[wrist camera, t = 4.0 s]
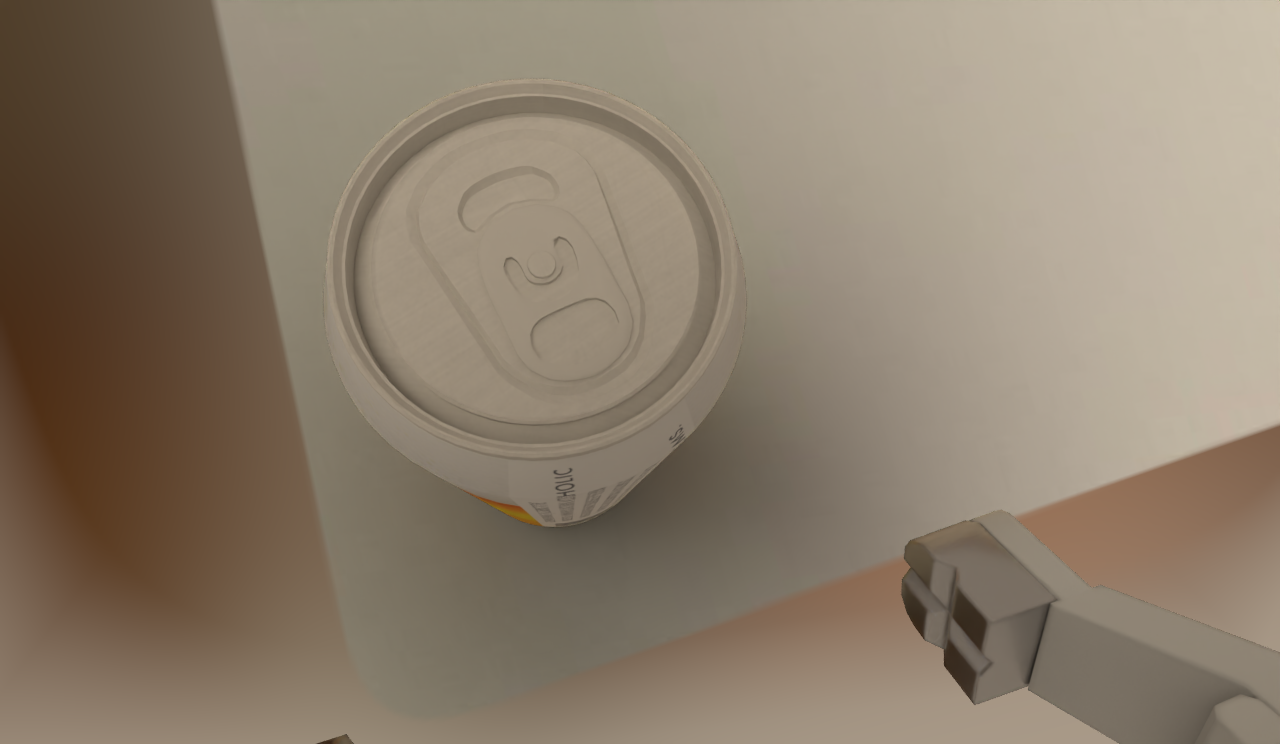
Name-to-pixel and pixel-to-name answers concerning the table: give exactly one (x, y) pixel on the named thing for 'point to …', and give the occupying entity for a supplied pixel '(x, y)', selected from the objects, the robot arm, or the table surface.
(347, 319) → the orange beverage can
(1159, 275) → the table surface
